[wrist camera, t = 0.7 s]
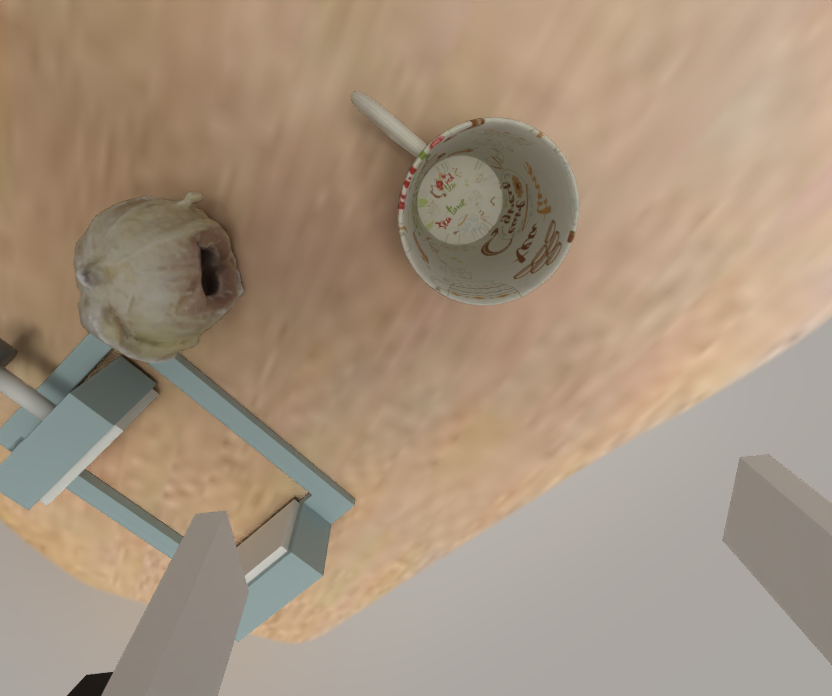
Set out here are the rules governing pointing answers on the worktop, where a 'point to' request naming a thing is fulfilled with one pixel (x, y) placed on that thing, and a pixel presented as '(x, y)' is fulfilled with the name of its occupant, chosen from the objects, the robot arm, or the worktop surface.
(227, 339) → the worktop surface
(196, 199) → the garlic bulb
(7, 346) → the jaw
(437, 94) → the worktop surface
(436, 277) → the mug
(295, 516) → the vise
